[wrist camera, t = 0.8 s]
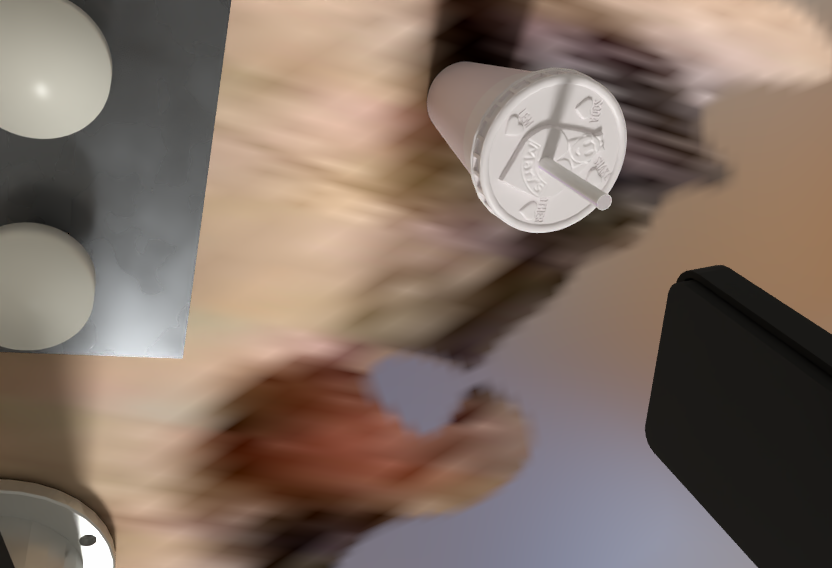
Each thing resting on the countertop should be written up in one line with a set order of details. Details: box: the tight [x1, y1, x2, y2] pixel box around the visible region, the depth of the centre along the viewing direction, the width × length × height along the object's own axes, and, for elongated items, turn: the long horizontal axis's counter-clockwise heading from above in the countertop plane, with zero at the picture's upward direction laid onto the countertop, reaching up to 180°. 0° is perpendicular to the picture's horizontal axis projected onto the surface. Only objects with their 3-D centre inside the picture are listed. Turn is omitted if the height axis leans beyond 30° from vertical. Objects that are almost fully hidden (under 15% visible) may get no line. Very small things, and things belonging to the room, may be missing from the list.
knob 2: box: [0, 222, 96, 350], centre depth 28 cm, size 4×4×5 cm
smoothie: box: [427, 62, 627, 233], centre depth 30 cm, size 6×6×14 cm
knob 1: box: [0, 0, 112, 139], centre depth 25 cm, size 4×4×5 cm
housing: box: [0, 0, 231, 359], centre depth 29 cm, size 17×12×4 cm
